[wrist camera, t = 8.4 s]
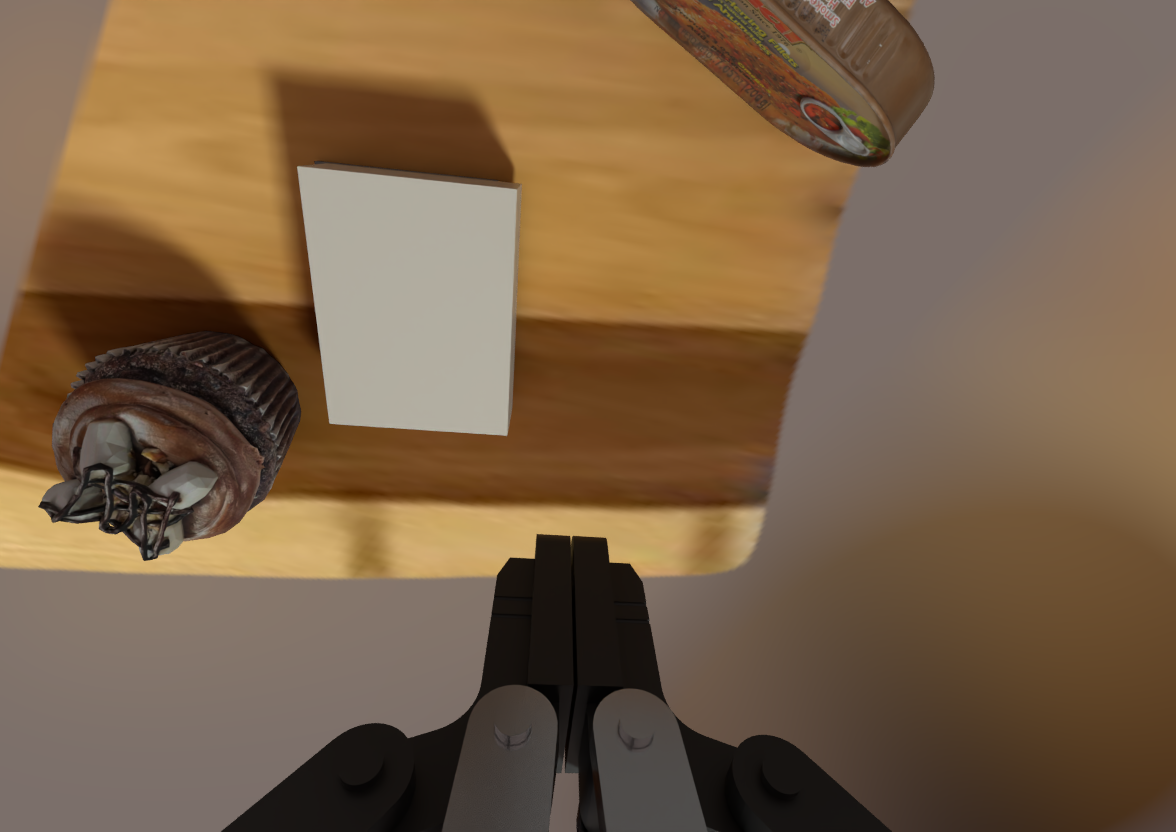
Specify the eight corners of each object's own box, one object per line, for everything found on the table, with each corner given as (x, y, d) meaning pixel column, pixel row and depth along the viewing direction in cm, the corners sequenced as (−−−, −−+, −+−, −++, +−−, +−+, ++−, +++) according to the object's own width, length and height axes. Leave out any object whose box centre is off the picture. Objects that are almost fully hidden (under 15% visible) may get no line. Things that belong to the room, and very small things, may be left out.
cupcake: (335, 358, 30) (241, 450, 21) (295, 490, 34) (200, 614, 25) (149, 284, 28) (-43, 351, 19) (128, 433, 32) (-41, 548, 23)
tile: (522, 183, 26) (329, 162, 26) (516, 189, 23) (297, 166, 22) (512, 406, 32) (353, 395, 31) (507, 435, 28) (329, 423, 28)
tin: (568, -52, 23) (572, -147, 15) (612, -136, 22) (638, -282, 14) (821, 170, 27) (921, 181, 20) (868, 110, 26) (994, 97, 18)
